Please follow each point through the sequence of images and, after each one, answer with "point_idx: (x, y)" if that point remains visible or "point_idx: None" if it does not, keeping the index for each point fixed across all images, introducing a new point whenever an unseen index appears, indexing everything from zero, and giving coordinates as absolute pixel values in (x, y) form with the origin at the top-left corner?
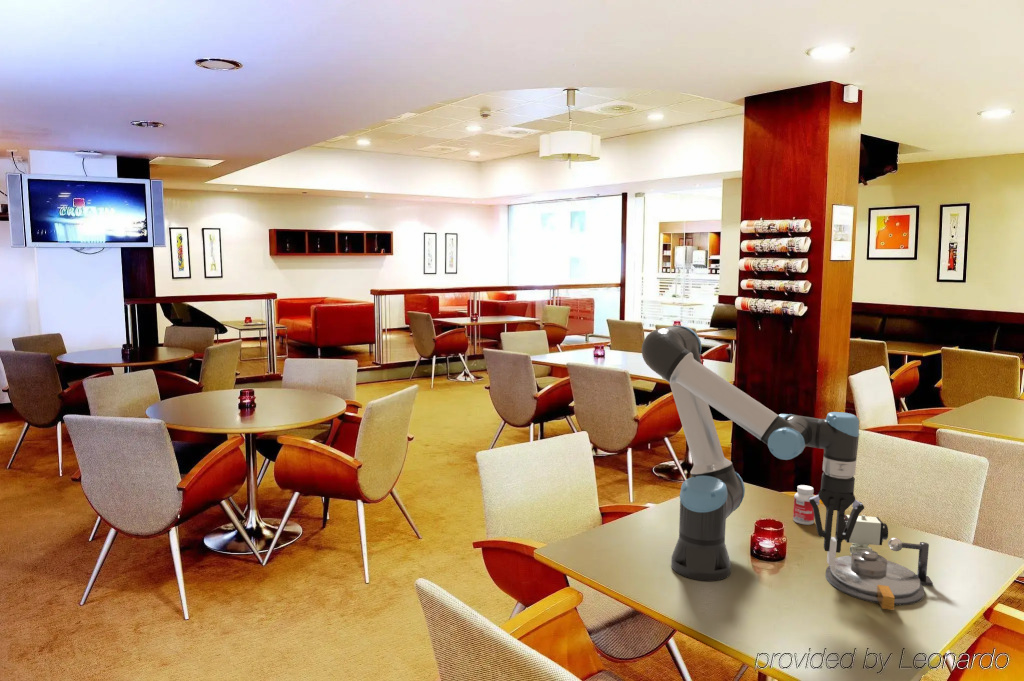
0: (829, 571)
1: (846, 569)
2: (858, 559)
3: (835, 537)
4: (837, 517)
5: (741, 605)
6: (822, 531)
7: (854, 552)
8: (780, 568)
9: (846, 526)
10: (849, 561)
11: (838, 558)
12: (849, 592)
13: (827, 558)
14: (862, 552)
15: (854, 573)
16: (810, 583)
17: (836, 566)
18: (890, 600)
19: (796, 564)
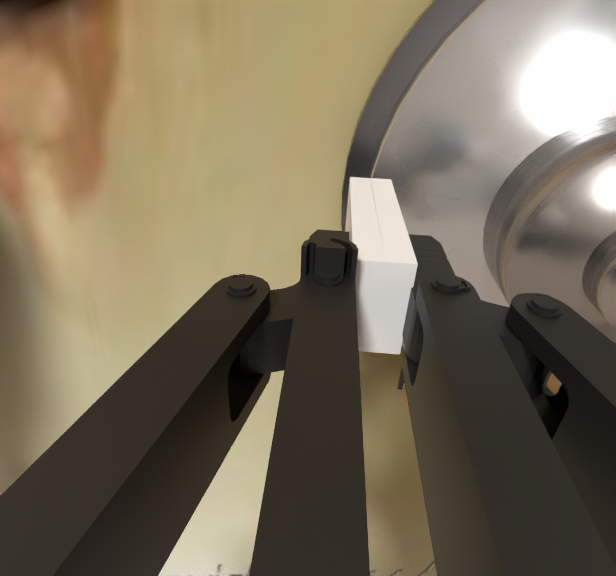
0: (370, 152)
1: (454, 226)
2: None
3: (412, 294)
4: (465, 552)
5: (36, 444)
6: (252, 399)
7: (582, 176)
8: (108, 116)
9: (580, 412)
10: (540, 77)
11: (474, 32)
12: (402, 348)
13: (348, 203)
14: (605, 303)
15: (481, 270)
16: (254, 265)
17: (405, 194)
18: None
19: (194, 19)
